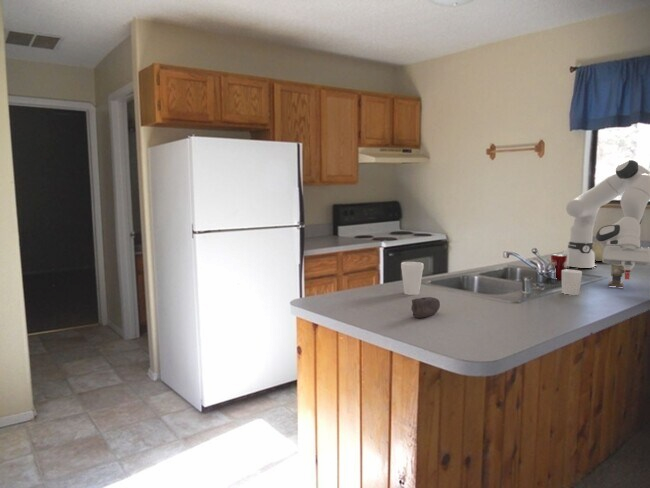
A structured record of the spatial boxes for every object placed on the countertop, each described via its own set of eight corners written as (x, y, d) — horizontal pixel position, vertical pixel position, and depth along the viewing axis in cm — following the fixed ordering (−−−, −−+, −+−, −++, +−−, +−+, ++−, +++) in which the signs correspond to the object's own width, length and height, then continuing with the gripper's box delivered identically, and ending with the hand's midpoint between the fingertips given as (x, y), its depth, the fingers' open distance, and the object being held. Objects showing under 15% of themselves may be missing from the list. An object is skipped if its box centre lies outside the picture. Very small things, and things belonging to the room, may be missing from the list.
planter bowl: (614, 260, 304) (616, 242, 303) (613, 264, 291) (615, 245, 289) (585, 258, 313) (586, 241, 312) (582, 261, 299) (584, 243, 298)
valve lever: (624, 268, 228) (625, 273, 214) (628, 268, 227) (629, 274, 214) (624, 273, 228) (624, 279, 215) (628, 274, 227) (629, 279, 214)
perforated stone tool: (433, 311, 185) (434, 292, 184) (445, 314, 181) (445, 295, 180) (406, 318, 175) (406, 298, 174) (417, 321, 171) (418, 301, 170)
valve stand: (609, 283, 235) (610, 264, 234) (623, 284, 232) (624, 265, 231) (608, 287, 226) (610, 267, 225) (623, 288, 224) (624, 268, 223)
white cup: (585, 295, 211) (586, 271, 209) (571, 296, 208) (572, 273, 206) (569, 291, 218) (571, 268, 217) (556, 292, 215) (557, 270, 214)
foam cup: (397, 294, 212) (398, 264, 210) (404, 290, 220) (405, 261, 218) (419, 296, 207) (419, 265, 206) (425, 292, 216) (426, 262, 214)
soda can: (550, 279, 244) (552, 255, 242) (548, 277, 251) (550, 253, 249) (566, 280, 242) (568, 256, 240) (564, 277, 249) (565, 254, 247)
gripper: (655, 252, 222) (655, 277, 215) (603, 249, 232) (601, 273, 225) (656, 243, 218) (656, 269, 210) (603, 241, 228) (601, 265, 220)
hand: (627, 271), depth 218 cm, fingers closed
